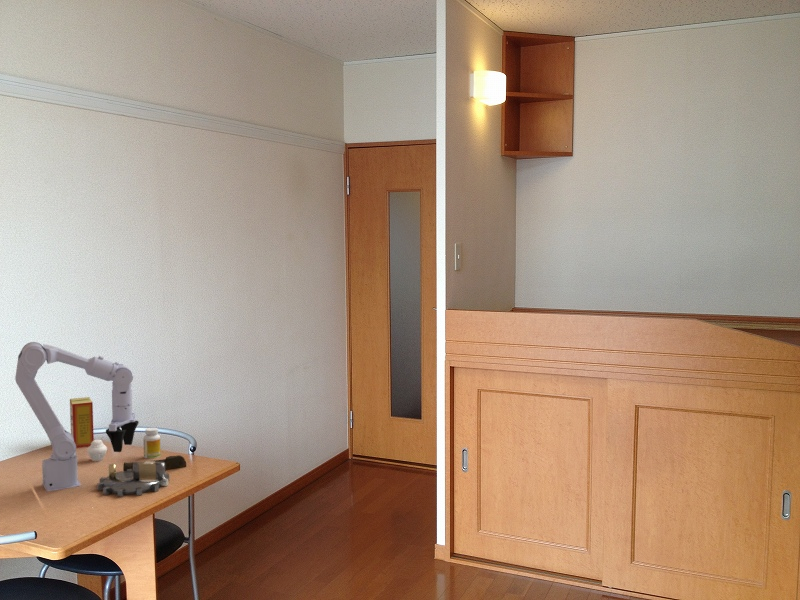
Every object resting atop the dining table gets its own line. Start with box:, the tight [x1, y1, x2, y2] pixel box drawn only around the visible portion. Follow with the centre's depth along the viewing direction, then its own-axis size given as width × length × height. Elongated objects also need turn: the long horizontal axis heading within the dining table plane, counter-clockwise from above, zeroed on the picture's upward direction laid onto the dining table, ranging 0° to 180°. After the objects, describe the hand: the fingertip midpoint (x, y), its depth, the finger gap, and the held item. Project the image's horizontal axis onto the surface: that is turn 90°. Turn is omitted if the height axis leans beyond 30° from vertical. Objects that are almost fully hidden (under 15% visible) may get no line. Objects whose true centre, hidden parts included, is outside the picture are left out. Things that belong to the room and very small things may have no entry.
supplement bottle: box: [142, 427, 162, 459], centre depth 250 cm, size 5×5×10 cm
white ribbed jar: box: [86, 439, 108, 462], centre depth 247 cm, size 6×6×7 cm
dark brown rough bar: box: [122, 455, 187, 472], centre depth 236 cm, size 19×4×5 cm, turn 107°
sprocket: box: [96, 463, 170, 498], centre depth 221 cm, size 20×20×6 cm
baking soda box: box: [69, 396, 95, 449], centre depth 265 cm, size 10×6×16 cm
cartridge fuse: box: [133, 460, 166, 480], centre depth 221 cm, size 10×3×5 cm, turn 88°
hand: (123, 448), depth 229 cm, fingers open, 7 cm apart
